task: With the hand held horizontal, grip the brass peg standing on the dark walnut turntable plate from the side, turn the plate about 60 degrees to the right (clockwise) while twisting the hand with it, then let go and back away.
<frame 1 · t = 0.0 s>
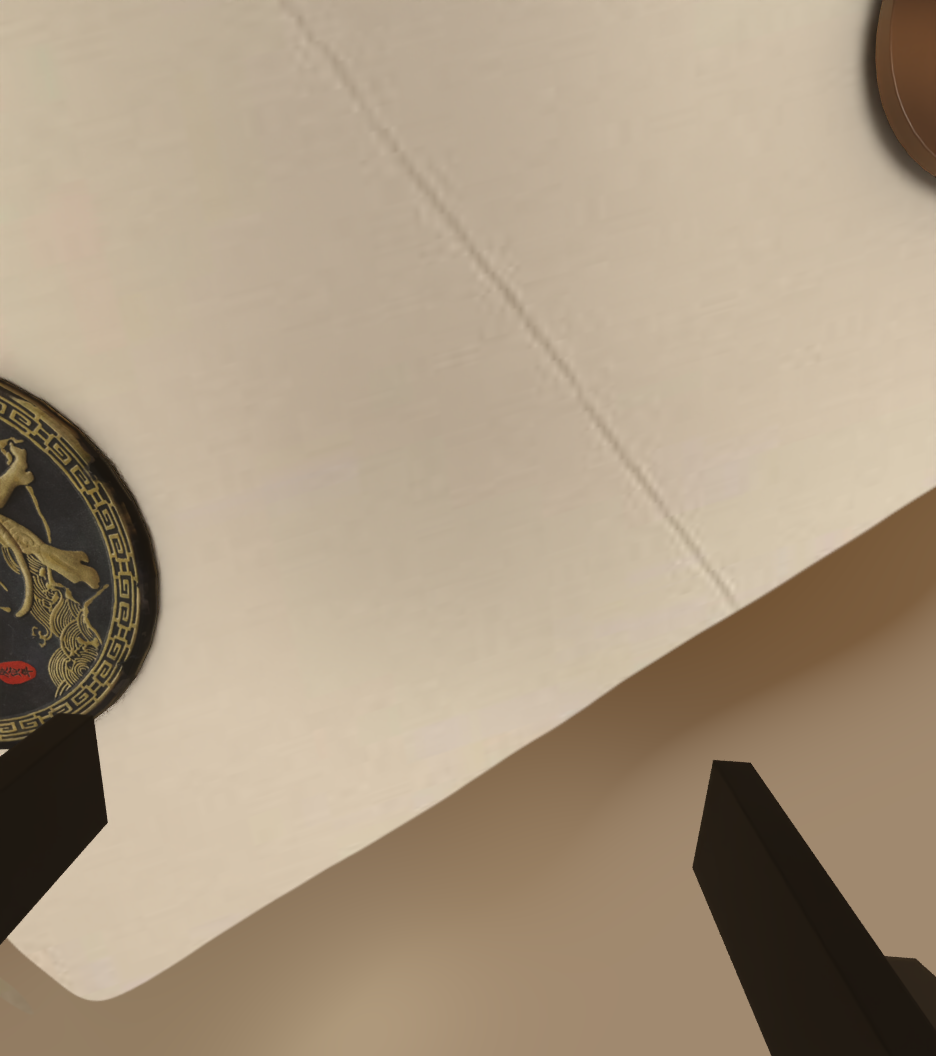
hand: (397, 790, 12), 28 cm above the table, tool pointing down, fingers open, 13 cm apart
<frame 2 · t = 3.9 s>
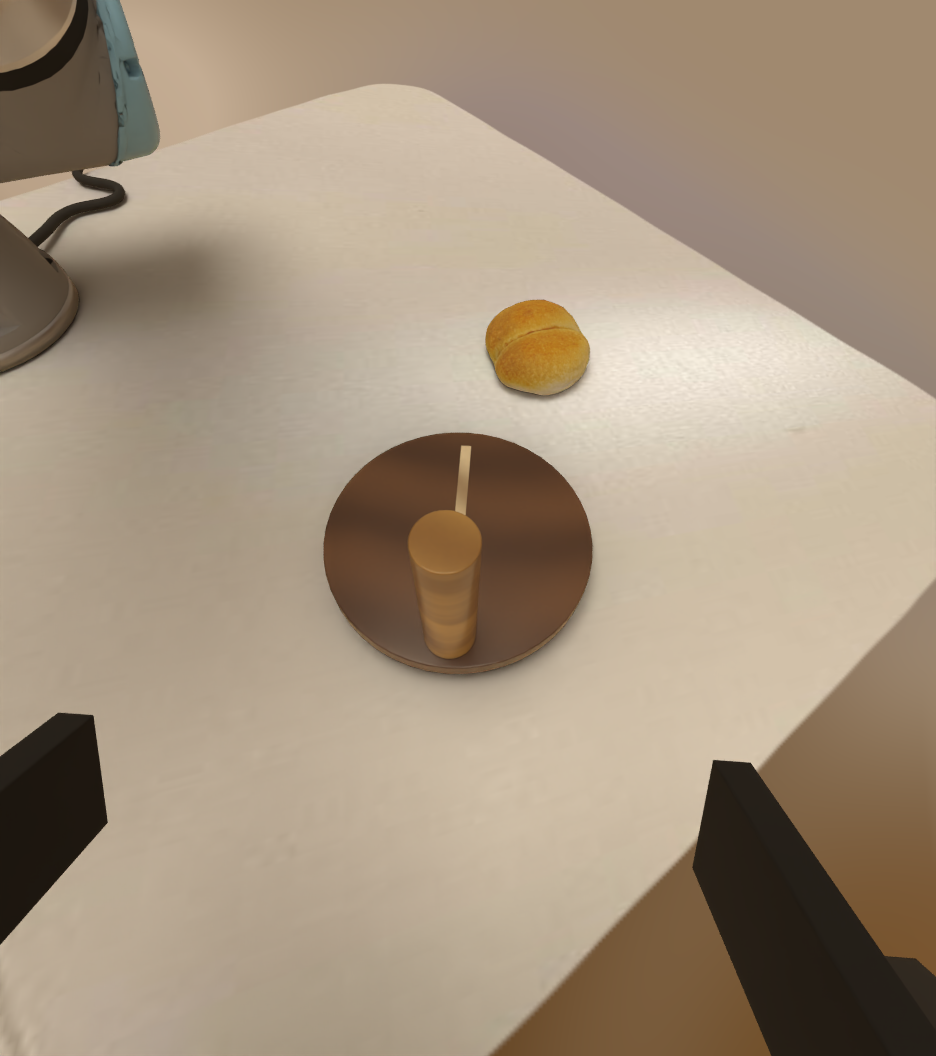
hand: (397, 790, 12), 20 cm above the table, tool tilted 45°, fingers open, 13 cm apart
bread roll: (534, 361, 46), on the table
turntable: (458, 492, 30), point 7 cm above the table, hinge at 0.0°
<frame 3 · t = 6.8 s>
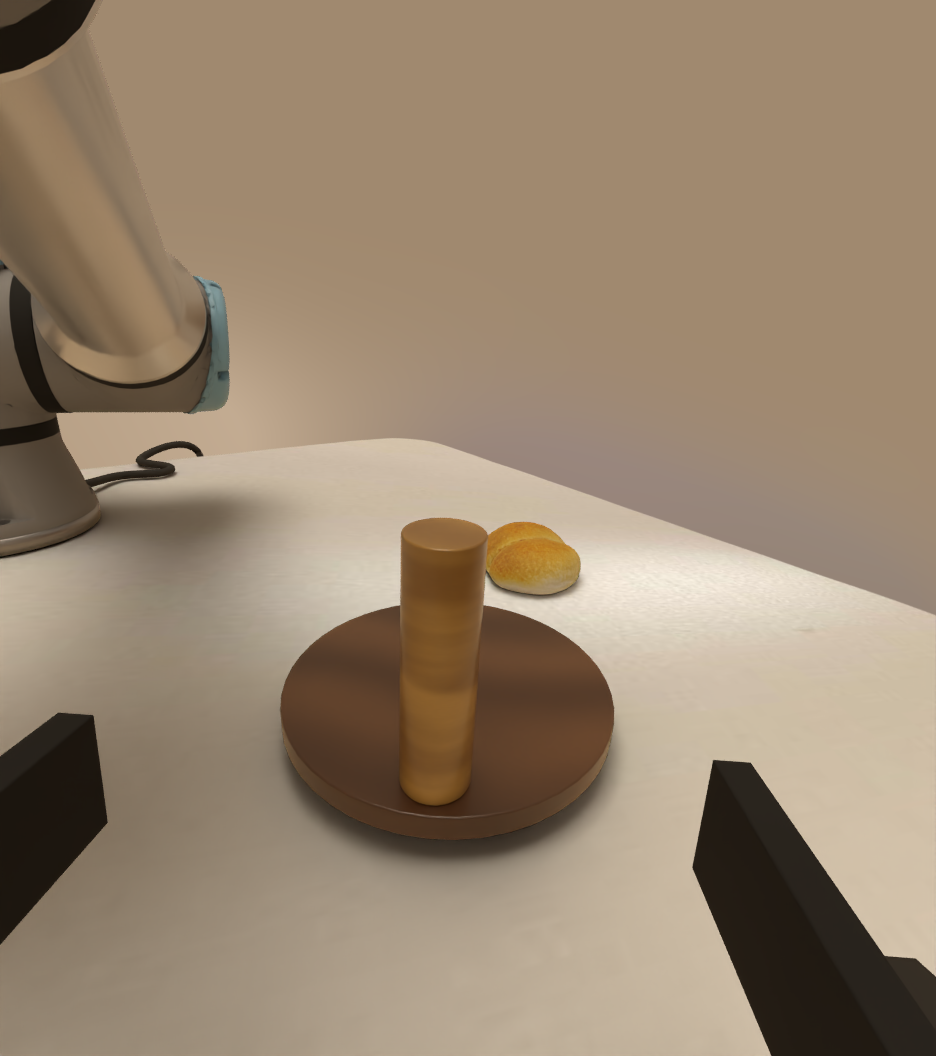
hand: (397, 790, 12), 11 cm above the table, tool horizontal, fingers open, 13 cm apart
bread roll: (526, 574, 47), on the table
turntable: (453, 598, 27), point 7 cm above the table, hinge at 0.0°
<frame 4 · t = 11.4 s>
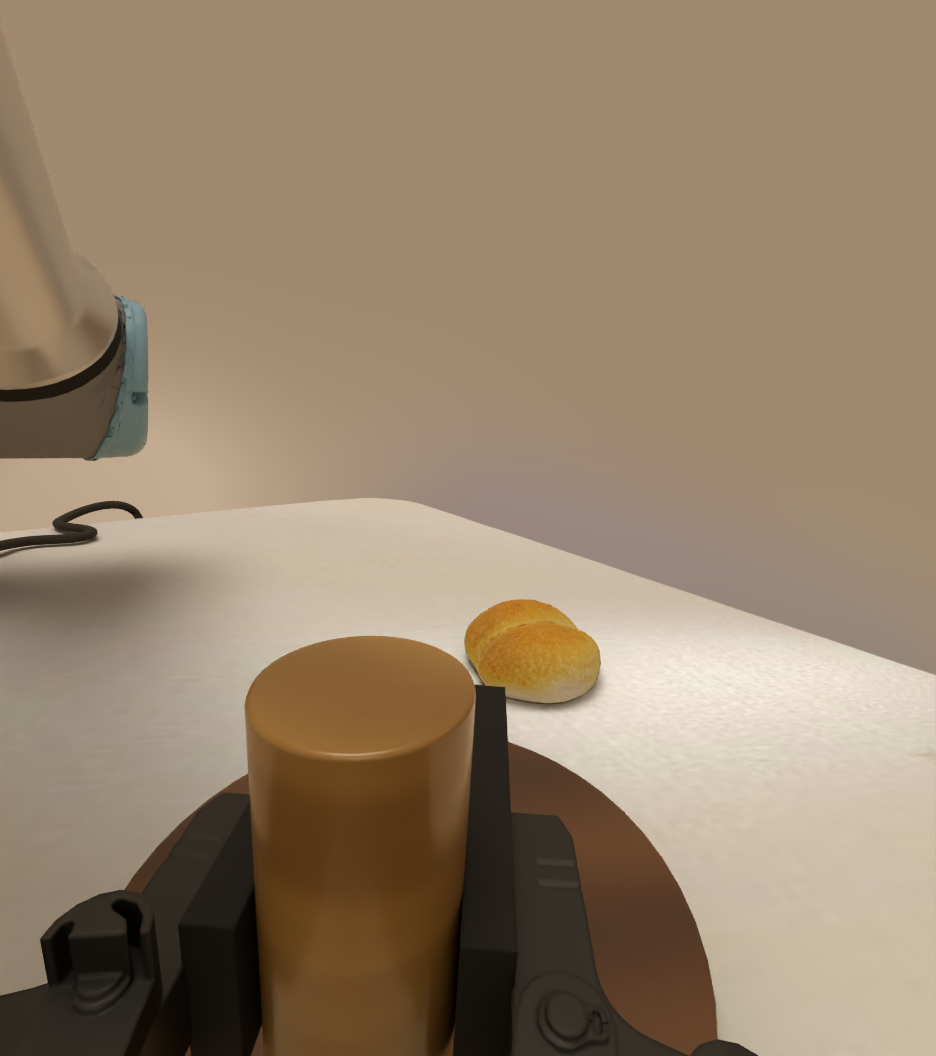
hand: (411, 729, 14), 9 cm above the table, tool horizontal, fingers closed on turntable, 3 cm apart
bread roll: (528, 671, 35), on the table
turntable: (415, 757, 15), point 7 cm above the table, hinge at 0.0°, touching gripper
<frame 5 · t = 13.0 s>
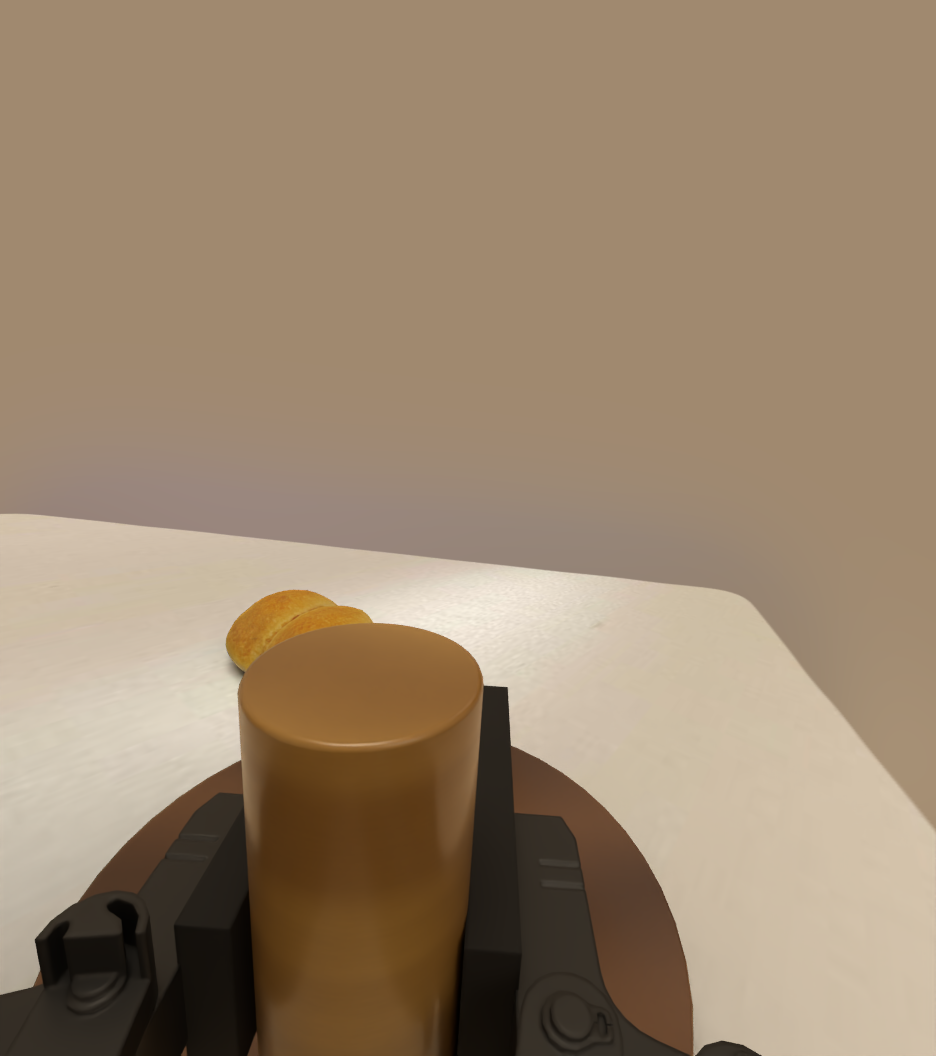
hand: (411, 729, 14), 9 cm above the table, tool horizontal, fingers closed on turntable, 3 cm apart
bread roll: (304, 662, 34), on the table
turntable: (385, 752, 15), point 7 cm above the table, hinge at 32.2°, touching gripper
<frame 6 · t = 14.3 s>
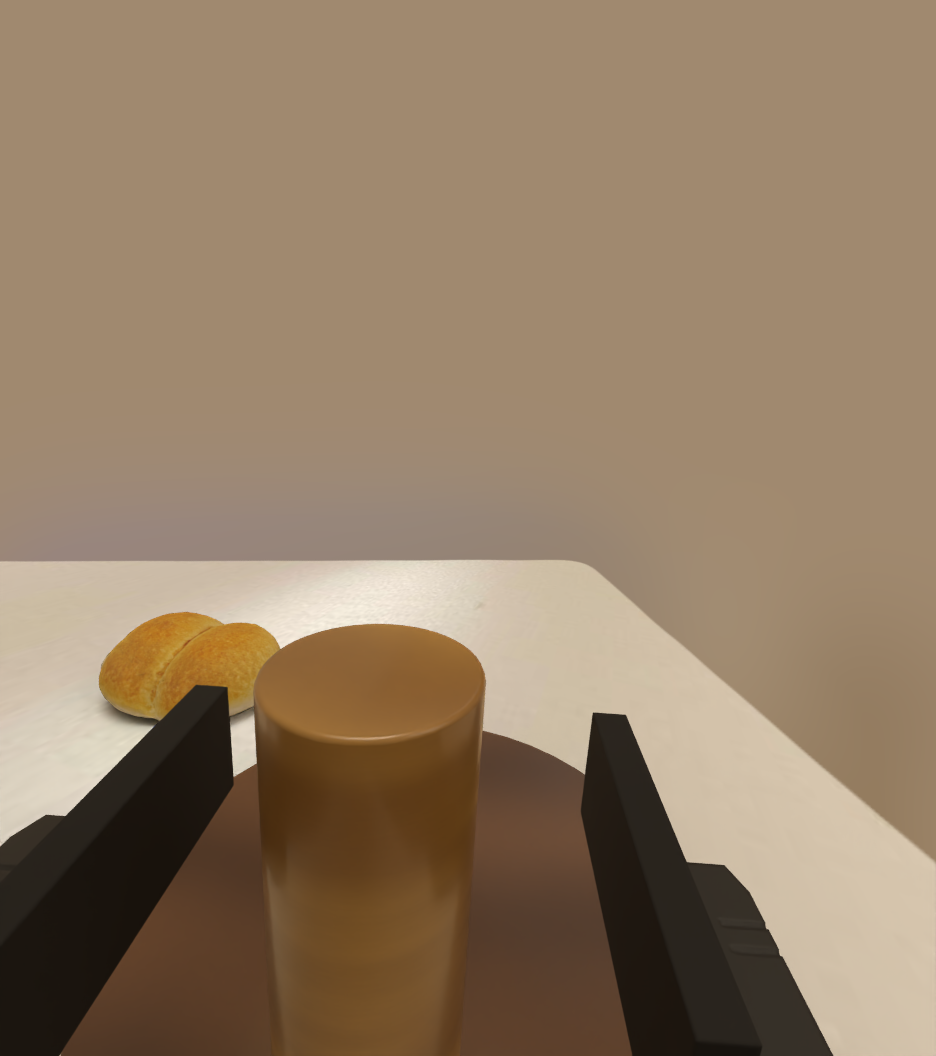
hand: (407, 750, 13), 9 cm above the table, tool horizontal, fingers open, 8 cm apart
bread roll: (197, 691, 31), on the table
turntable: (415, 750, 15), point 7 cm above the table, hinge at 59.0°
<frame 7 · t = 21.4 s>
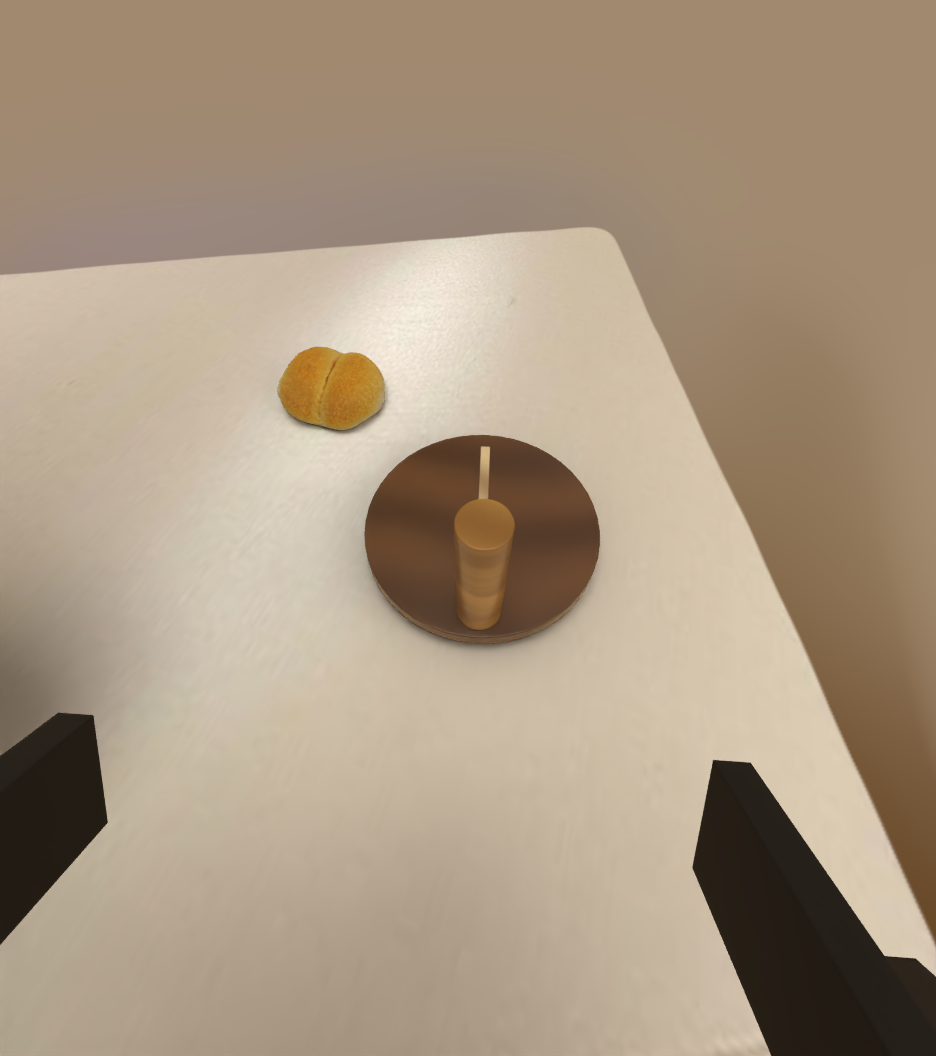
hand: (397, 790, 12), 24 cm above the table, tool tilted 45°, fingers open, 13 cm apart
bread roll: (335, 400, 49), on the table
turntable: (484, 486, 35), point 7 cm above the table, hinge at 59.0°
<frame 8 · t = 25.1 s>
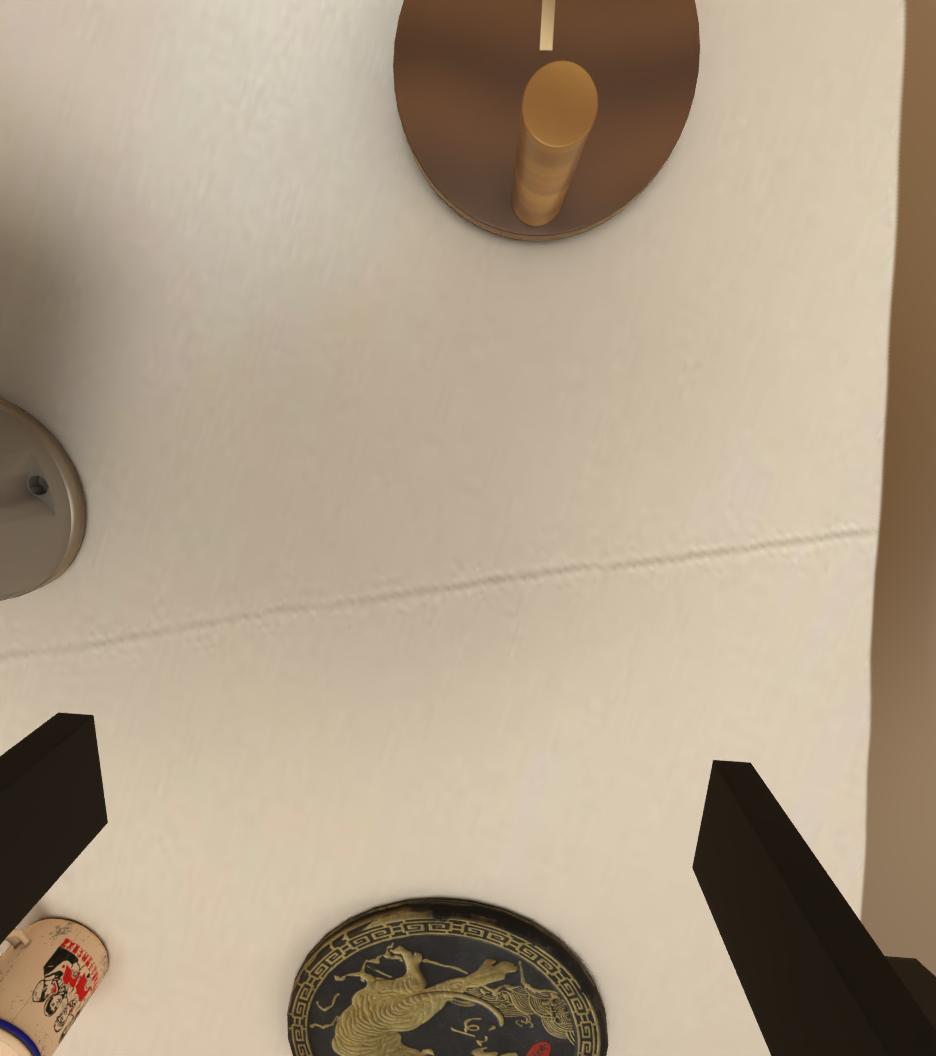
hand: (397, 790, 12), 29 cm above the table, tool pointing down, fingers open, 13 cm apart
decorative plate: (446, 1020, 52), on the table
teacup with lid: (60, 938, 52), on the table
turntable: (554, 9, 26), point 7 cm above the table, hinge at 59.0°
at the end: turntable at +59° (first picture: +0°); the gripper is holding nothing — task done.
